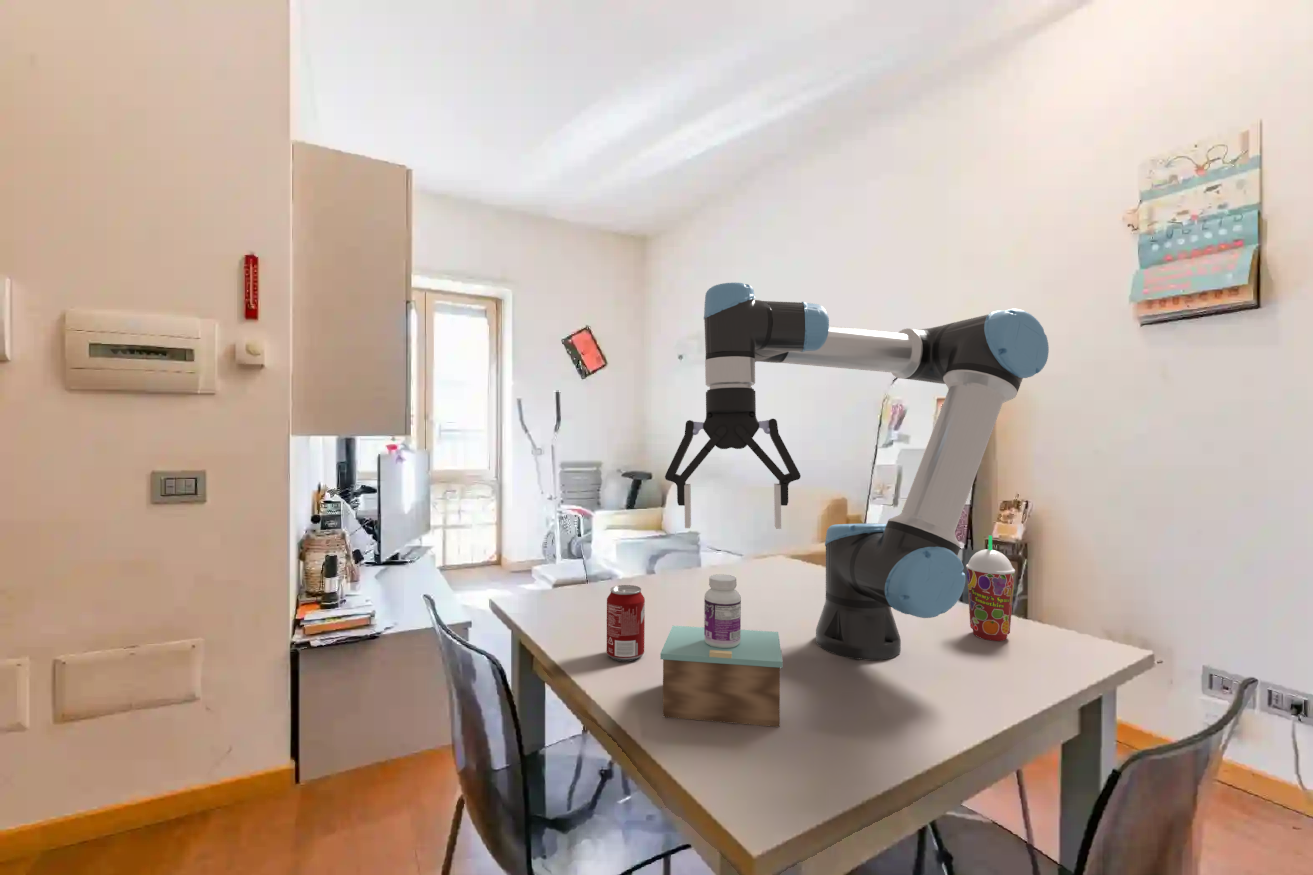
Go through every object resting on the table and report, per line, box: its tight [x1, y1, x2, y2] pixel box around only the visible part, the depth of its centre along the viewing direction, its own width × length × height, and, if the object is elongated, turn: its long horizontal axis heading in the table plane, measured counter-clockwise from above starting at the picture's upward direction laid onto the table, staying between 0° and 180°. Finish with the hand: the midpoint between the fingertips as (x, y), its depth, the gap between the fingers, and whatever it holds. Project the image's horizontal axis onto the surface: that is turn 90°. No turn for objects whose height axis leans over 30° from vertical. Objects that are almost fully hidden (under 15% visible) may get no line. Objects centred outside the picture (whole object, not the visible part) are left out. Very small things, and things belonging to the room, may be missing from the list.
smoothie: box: [965, 535, 1016, 642], centre depth 114 cm, size 8×8×20 cm
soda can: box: [605, 584, 646, 662], centre depth 103 cm, size 7×7×12 cm
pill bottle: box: [703, 573, 742, 648], centre depth 84 cm, size 5×5×10 cm
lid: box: [659, 625, 784, 669], centre depth 85 cm, size 17×13×1 cm
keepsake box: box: [662, 659, 781, 728], centre depth 85 cm, size 16×12×8 cm
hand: (732, 527), depth 88 cm, fingers open, 13 cm apart
